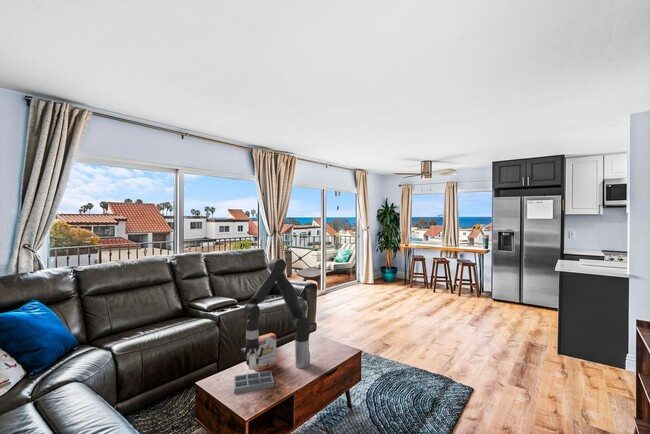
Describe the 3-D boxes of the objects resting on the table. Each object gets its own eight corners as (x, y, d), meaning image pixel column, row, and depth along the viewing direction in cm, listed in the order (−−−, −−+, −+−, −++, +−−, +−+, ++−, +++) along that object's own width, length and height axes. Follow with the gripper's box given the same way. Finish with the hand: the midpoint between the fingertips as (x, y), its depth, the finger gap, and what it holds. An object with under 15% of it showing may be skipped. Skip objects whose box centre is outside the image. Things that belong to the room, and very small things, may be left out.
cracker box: (258, 372, 204) (258, 340, 205) (253, 369, 209) (253, 337, 209) (276, 365, 214) (276, 334, 214) (271, 362, 219) (271, 332, 219)
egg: (256, 365, 197) (256, 352, 197) (256, 369, 193) (256, 355, 193) (248, 366, 196) (248, 353, 196) (248, 370, 192) (248, 356, 192)
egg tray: (270, 374, 201) (270, 370, 201) (273, 386, 187) (273, 382, 187) (234, 380, 195) (234, 376, 195) (234, 393, 180) (234, 388, 180)
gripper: (263, 333, 200) (263, 360, 200) (240, 335, 196) (240, 363, 196) (264, 337, 193) (264, 365, 193) (240, 340, 189) (240, 369, 189)
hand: (252, 364), depth 194 cm, fingers closed on egg, 4 cm apart
